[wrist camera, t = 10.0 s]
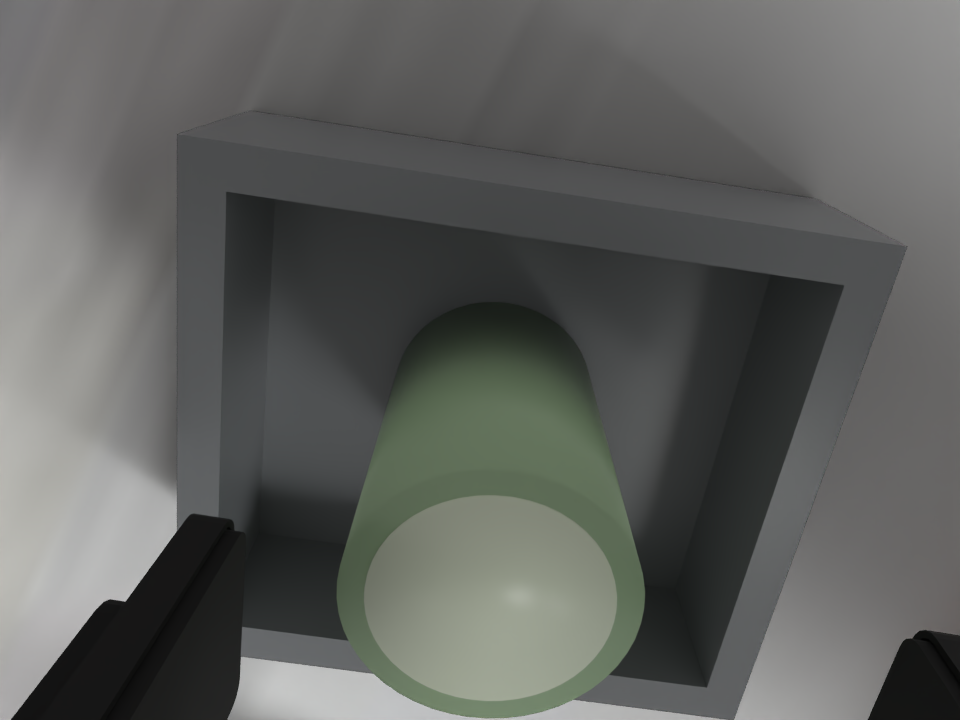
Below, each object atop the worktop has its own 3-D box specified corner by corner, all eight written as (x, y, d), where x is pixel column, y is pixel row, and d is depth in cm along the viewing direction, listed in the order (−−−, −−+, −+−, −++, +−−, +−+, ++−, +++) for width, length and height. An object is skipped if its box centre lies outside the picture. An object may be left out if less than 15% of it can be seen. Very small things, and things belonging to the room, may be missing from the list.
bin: (816, 198, 17) (907, 246, 13) (691, 598, 21) (733, 720, 17) (250, 110, 16) (177, 133, 13) (235, 536, 20) (177, 648, 17)
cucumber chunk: (610, 319, 17) (680, 497, 10) (569, 491, 19) (608, 738, 12) (407, 287, 17) (350, 448, 10) (384, 465, 18) (324, 700, 12)
